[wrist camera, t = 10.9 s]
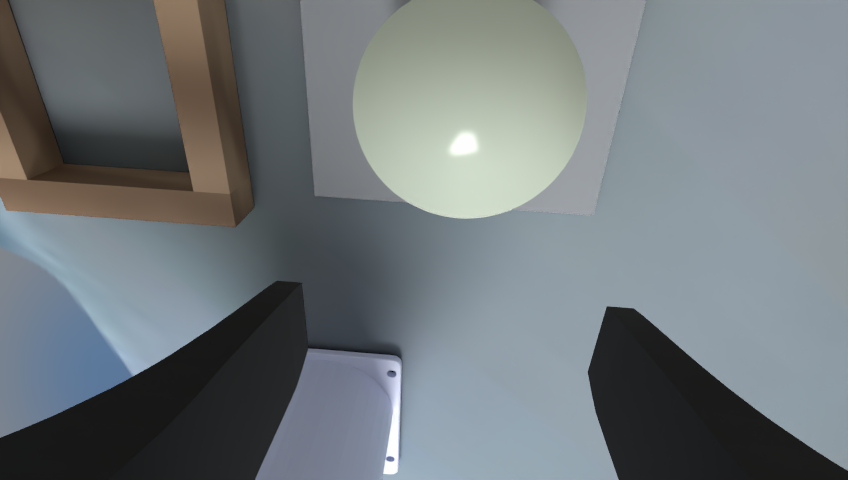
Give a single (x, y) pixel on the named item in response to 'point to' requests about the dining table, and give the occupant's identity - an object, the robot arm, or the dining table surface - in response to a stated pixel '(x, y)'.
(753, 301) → the dining table surface
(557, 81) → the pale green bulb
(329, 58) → the mat
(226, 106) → the frame
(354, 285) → the dining table surface
